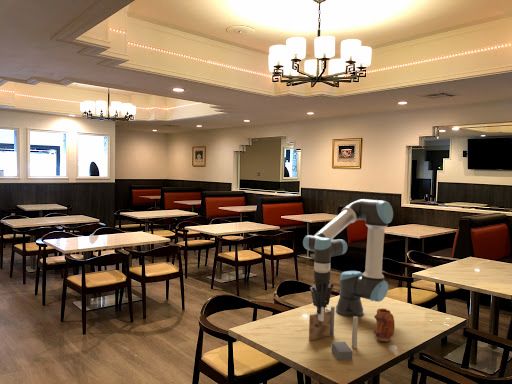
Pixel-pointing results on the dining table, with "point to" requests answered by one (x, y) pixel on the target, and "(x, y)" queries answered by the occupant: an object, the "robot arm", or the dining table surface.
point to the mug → (384, 325)
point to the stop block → (342, 351)
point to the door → (319, 326)
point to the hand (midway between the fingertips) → (320, 320)
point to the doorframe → (354, 329)
